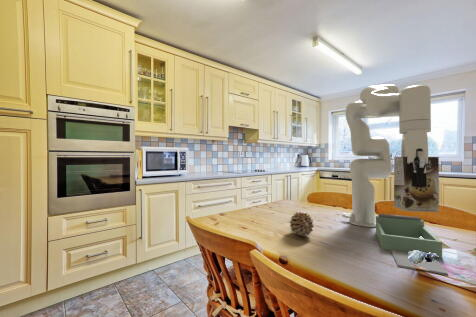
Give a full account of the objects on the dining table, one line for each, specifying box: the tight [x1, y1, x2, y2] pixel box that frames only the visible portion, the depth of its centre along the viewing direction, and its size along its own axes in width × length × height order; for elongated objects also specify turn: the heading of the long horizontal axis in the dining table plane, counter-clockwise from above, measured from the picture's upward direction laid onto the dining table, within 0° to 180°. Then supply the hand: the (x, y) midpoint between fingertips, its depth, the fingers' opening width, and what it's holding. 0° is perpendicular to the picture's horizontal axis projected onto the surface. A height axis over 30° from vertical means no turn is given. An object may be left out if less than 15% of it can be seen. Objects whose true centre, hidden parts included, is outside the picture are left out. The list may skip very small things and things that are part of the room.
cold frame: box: [375, 213, 443, 259], centre depth 82 cm, size 16×20×8 cm
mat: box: [390, 250, 449, 276], centre depth 67 cm, size 11×12×1 cm
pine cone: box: [289, 211, 315, 237], centre depth 94 cm, size 22×10×10 cm, turn 175°
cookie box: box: [393, 156, 440, 213], centre depth 67 cm, size 9×6×16 cm
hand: (415, 185), depth 67 cm, fingers closed on cookie box, 7 cm apart
